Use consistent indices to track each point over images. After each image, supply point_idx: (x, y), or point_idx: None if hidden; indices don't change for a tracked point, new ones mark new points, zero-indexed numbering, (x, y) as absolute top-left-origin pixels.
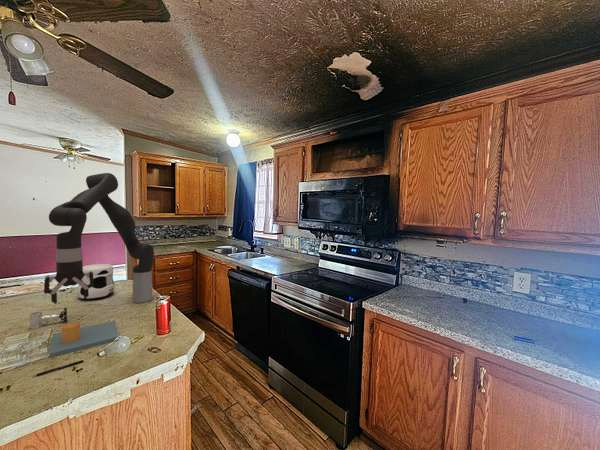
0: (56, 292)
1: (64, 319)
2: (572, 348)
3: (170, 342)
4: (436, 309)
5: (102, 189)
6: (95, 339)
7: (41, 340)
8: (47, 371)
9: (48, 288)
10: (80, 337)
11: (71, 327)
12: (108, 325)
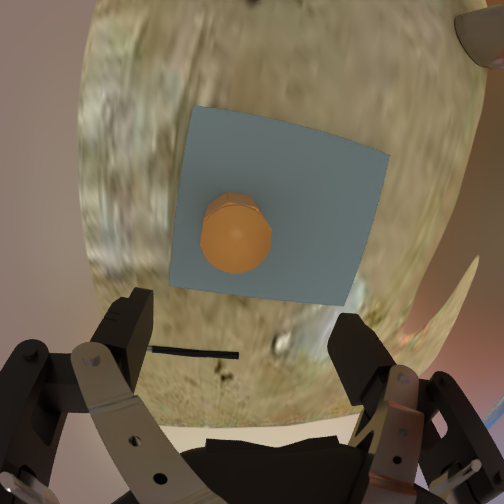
0: (124, 349)
1: None
2: None
3: None
4: (501, 406)
5: None
6: (293, 280)
7: (158, 109)
8: (170, 352)
9: (57, 437)
10: None
11: (233, 272)
12: (362, 184)
